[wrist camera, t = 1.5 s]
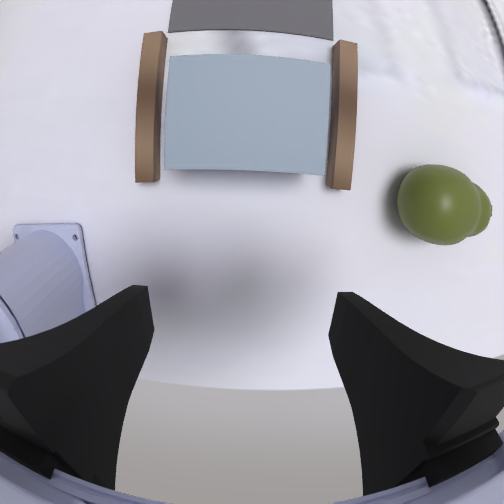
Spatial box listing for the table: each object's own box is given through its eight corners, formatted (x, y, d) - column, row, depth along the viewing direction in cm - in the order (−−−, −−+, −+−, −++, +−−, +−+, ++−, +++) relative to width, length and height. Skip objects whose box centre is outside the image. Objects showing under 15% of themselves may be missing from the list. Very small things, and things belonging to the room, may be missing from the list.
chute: (342, 186, 18) (350, 190, 17) (143, 179, 17) (135, 182, 16) (349, 49, 15) (357, 43, 13) (150, 40, 14) (143, 33, 12)
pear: (443, 162, 12) (509, 187, 14) (388, 153, 17) (464, 174, 19) (426, 256, 14) (496, 253, 16) (377, 229, 19) (454, 232, 21)
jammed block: (306, 168, 17) (324, 175, 14) (180, 164, 17) (164, 169, 13) (311, 79, 15) (330, 64, 11) (184, 74, 15) (169, 56, 11)
